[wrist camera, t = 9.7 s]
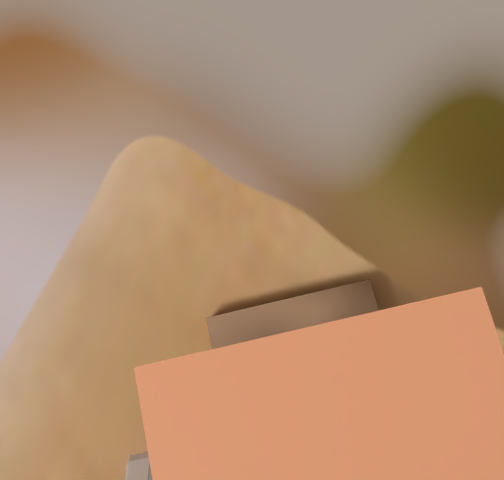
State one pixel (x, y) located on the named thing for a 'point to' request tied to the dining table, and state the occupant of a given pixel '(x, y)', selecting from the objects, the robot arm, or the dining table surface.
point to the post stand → (292, 314)
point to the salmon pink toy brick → (337, 400)
